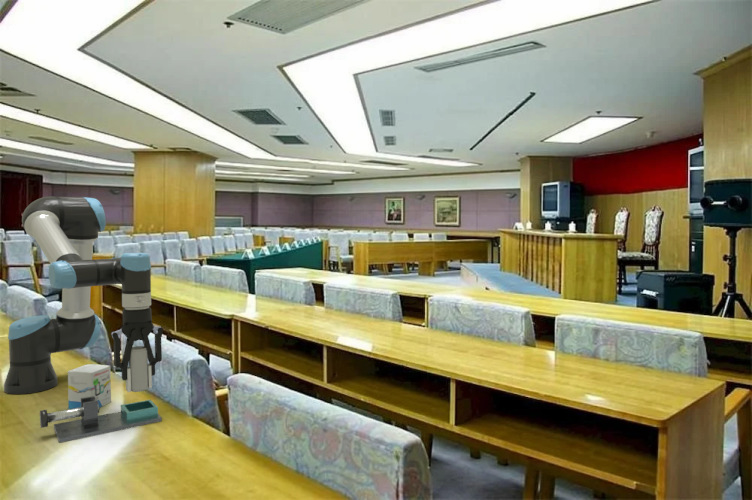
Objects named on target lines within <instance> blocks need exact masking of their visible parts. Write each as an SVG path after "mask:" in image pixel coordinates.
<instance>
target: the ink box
mask: <svg viewBox="0 0 752 500" xmlns="http://www.w3.org/2000/svg"><path fill="white" fill-rule="evenodd" d="M111 375H112V374H111V365H107V364H93V363H91V364H88V363H87V364H84V365H81V366H78V367H75V368H73V369H70V370H68V371H67V396H68V398H67V399H68V401H67V402H68V409H74V408H79V407H81V398H85V397H91V396H95V400H97V401H98V406H99V409H100V408H101V407H104V406H105V405H106V406H107V405H108V404H110V403H111V402H112V386H111V385H112V384H111V382H112V380H111Z"/></svg>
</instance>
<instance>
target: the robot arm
mask: <svg viewBox="0 0 752 500" xmlns="http://www.w3.org/2000/svg"><path fill="white" fill-rule="evenodd" d="M105 213H106V212H105V210H104V207H103V204H102V203H101V202H100V200H98V199H97V198H95V197H85V196H42V197H41V198H40V197H39V198H38V199H36V200H34V201H32V202H31V203H30V204H28V205H27V207H25V209H24V211H23V213H22V215H21V216H22V217H21V223H22V227H23V229H24V230H25V233H26V234H27V235H29V237H32V238H33V239H35V241H36V243H37V244H38V246H39V248H40V249H41V251H42V252H43V254H44V256H45V257H46V259H47V260H48V262H49V264H50V265H49V266H48V271H47V273H48V280H49V284H50V286H51V287H52V288H54V289H60V290H61V289H62V292H61V294H62V295H61V308H59V309H58V310H57V311H56V315H55V318H50V316H49V315H44V314H43V315H34V316H33V315H32V316H29V317H24V318H21V319H17V320H15V321H13V322H12V323H10V325H9V327H8V336H7V339H8V355H9V357H8V359H9V368H8V372H7V374H6V378H5V380H4V384H3V387H4V388H3V389H4V393H6V394H11V395H22V394H23V395H24V394H33V393H34V394H35V393H38V392H43V391H46V390H49V389H52V388H54V387H57V385H58V383H59V382H58V375H57V373H56V371H55V368H54V366H53V364H52V358H51V357H52V354H56V353H61V352H68V351H74V350H83V349H85V348H91V347H93V346H94V345H95V344H96V343H97V342H98V339H99V337H100V333H101V325H100V323H101V321H100V317H99V316H98V315H97V314H96V313H95V310H94V309H93V308H91V307H90V306H91V288H92V287H98V286H110V285H121V306H122V308H123V309H122V310H121V311H122V314H121V315H122V325H121V327H120V329H117V330H116V331H114V330H113V331H111V333H110V335H111V338H112V340H113V365H114V366H115V367H116V368H117V369H121V378H122V380H123V381H125V391H126V392H127V393H131V392H132V391H131V369H130V368H129V359H130V355H131V350H132V347H134V346H133V345H134V343H135V342H138V341H142V344H143V346H144V347H145V348H146V349H147V357H148V388H147V389H152V388H153V383H152V382H153V380H152V377H153V376H155V374H156V364H158V363H160V362H161V361H162V359H163V357H162V354H163V353H162V352H163V351H162V334H163V332H164V328H163V327H161V326H159V325H158V326H156V325H154V324H153V318H152V316H153V315H152V308H151V306H152V292H151V291H152V287H151V286H152V284H151V283H152V282H151V281H152V280H151V279H152V276H151V274H152V272H151V269H152V264H151V256H150V254H149V253H148V252H124V253H123V254H121V256H119V257H112V258H101V259H99V258H97V259H93V246H94V245H93V243H94V242H95V241H96V240H97V239H98V238H99V233H101V232H104V231H105V228H106V225H107V224H106V223H107V222H106V221H107V220H106V214H105ZM152 331H153V332H152ZM151 333H153V334H154V354H153V350H152V347H151V344H150V339H149V335H150V334H151ZM122 334H123V335H124V337H126V341H125V347H124V351H123V355H122V360H121V340H120V339H121V338H122Z"/></svg>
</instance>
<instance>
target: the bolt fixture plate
mask: <svg viewBox="0 0 752 500" xmlns="http://www.w3.org/2000/svg"><path fill="white" fill-rule="evenodd" d="M81 407H83V415H84V416H81V417H80V418H79V419H76V420H75V419H74V420H70V421H69V420H68V421H64V422H59V423H55V424H53V430H54V432H55V435H56V439H57V441H58V443H66V442H70V441H74V440H79V439H83V438H89V437H93V436H98V435H102V434H107V433H111V432H116V431H121V429H122V430H126V428H127V429H131V427H132V428H136V427H141V426H145V425H150V424H155V423H158V422H159V423H160V422H162V421H163V420H162V419H163V418H162V416H161V415H160V414H159V407H158V406H157V405H156V404H155V403H154V402H153V401H152V400H151V399H145V400H141V401H136V402H130V403H123V404H120V411H117V412H116V411H115V412H111V413H106V414H101V415H99V413H98V401H97V400H95V396H91V397H85V398H81Z"/></svg>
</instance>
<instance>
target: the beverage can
mask: <svg viewBox="0 0 752 500" xmlns="http://www.w3.org/2000/svg"><path fill="white" fill-rule="evenodd" d="M148 364H149V361H148V357H147V349H146V348H145V347H144V345H137V346H132V350H131V355H130V359H129V363H128V367H129V368H130V369H131V392H133V393H138V392H139V393H140V392H144V391H146V390H147V389H149V388H148Z"/></svg>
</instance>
